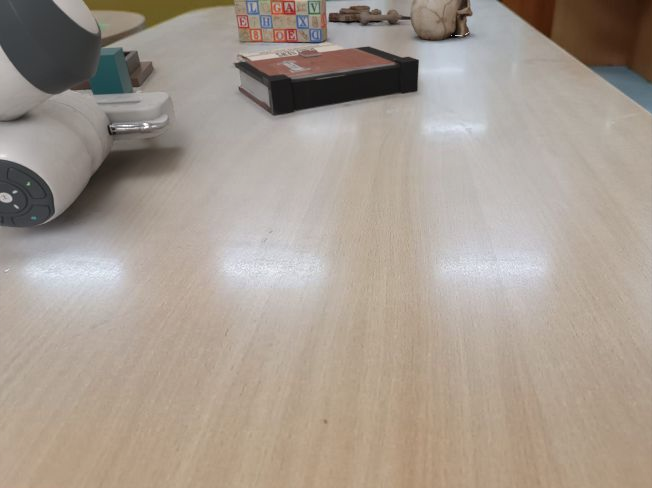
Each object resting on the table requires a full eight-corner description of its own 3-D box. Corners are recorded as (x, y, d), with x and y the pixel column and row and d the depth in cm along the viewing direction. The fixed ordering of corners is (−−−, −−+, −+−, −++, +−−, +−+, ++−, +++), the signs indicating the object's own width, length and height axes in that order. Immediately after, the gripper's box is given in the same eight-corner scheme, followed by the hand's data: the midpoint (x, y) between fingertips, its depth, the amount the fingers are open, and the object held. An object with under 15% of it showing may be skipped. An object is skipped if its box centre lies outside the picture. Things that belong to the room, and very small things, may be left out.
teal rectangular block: (103, 131, 72) (81, 55, 66) (112, 120, 76) (92, 48, 70) (133, 129, 72) (113, 54, 67) (140, 118, 77) (122, 47, 71)
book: (366, 70, 100) (366, 43, 97) (417, 90, 87) (418, 59, 85) (237, 89, 90) (233, 59, 87) (273, 115, 77) (270, 81, 74)
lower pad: (69, 90, 91) (61, 66, 88) (91, 71, 102) (85, 50, 100) (139, 86, 92) (133, 63, 90) (153, 68, 104) (148, 47, 101)
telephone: (443, 24, 143) (444, 7, 141) (325, 25, 145) (324, 9, 142) (438, 19, 156) (439, 3, 154) (330, 20, 158) (330, 4, 155)
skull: (467, 28, 137) (471, -28, 128) (475, 49, 124) (481, -13, 115) (408, 31, 138) (409, -25, 129) (410, 52, 125) (411, -9, 116)
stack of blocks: (328, 38, 129) (325, -18, 122) (322, 43, 124) (319, -15, 117) (247, 37, 132) (241, -18, 125) (238, 41, 127) (231, -15, 120)
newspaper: (320, 48, 118) (320, 37, 117) (351, 63, 111) (351, 51, 109) (229, 61, 107) (228, 49, 105) (256, 79, 100) (255, 66, 98)
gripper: (158, 99, 55) (177, 69, 66) (-48, 109, 52) (8, 76, 64) (171, 155, 58) (187, 118, 70) (-21, 167, 56) (27, 126, 67)
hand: (100, 98), depth 67 cm, fingers open, 8 cm apart
